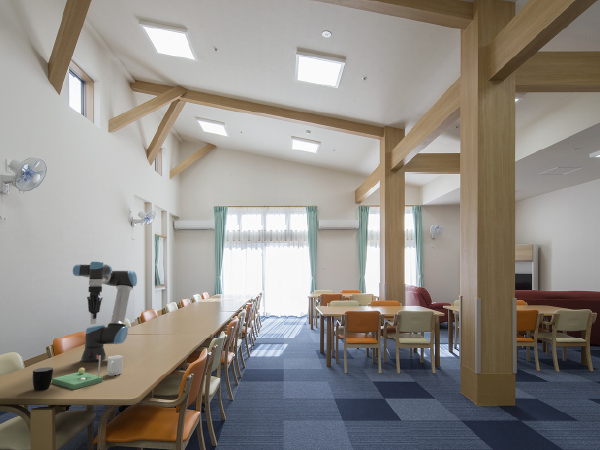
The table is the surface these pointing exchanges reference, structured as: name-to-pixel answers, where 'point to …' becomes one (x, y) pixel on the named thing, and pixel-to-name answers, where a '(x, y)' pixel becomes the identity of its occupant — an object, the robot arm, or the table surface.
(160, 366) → the table surface
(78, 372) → the yellow ball
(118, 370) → the cup
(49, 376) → the mug
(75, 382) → the green
